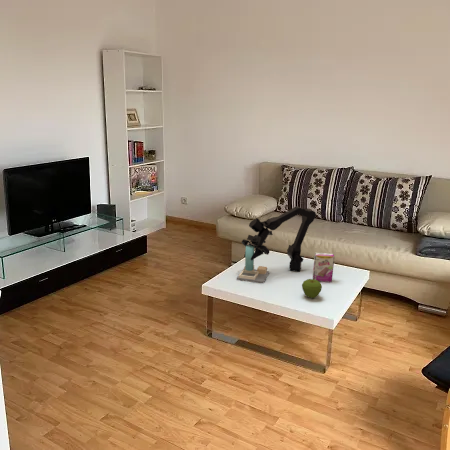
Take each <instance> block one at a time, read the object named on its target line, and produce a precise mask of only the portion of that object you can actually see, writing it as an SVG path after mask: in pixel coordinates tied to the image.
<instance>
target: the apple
mask: <svg viewBox="0 0 450 450" xmlns="http://www.w3.org/2000/svg"><path fill="white" fill-rule="evenodd" d="M301 288H302V291H303V293H304V295H305V297H307V298H309V299H315V298H317V297H318V296H319V295H320V293H321V292H322V290H323V289H322V288H323V285H322V283H321V281H317V280H314V279H313V278H308V279H306V280H304V281H303V282H302V284H301Z"/></svg>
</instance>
